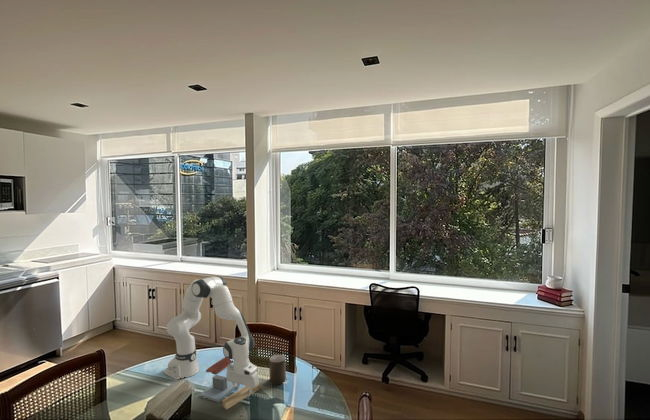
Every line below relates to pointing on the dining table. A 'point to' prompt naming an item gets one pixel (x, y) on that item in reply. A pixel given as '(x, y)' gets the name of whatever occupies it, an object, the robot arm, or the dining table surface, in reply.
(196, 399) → the dining table surface
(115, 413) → the dining table surface
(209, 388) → the ridge stand
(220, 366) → the wooden tablet
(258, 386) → the oak rod
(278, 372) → the pillar candle
